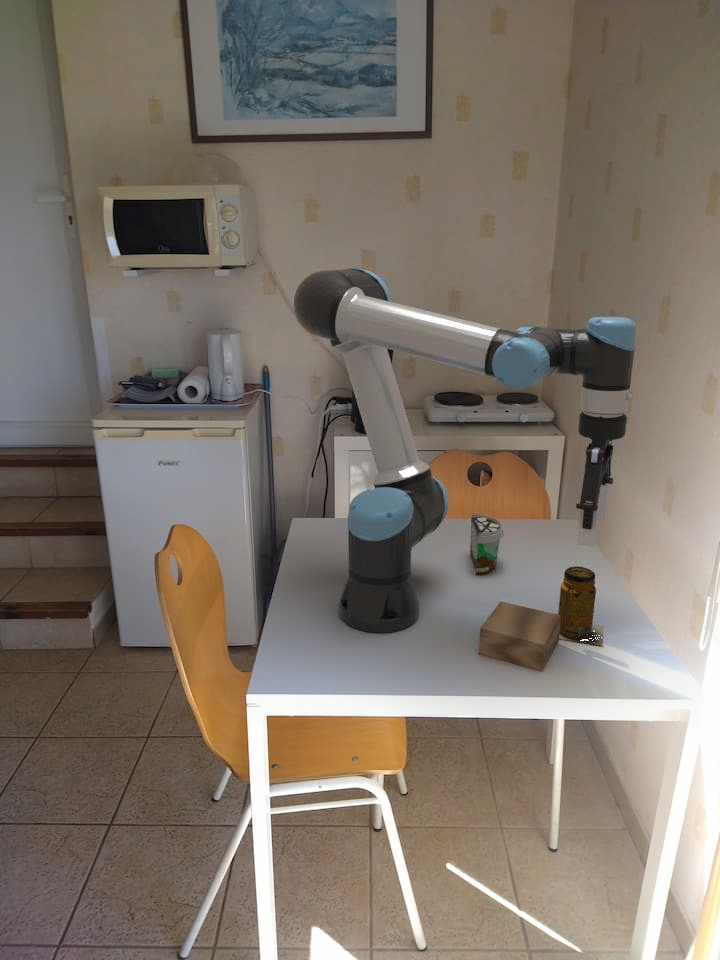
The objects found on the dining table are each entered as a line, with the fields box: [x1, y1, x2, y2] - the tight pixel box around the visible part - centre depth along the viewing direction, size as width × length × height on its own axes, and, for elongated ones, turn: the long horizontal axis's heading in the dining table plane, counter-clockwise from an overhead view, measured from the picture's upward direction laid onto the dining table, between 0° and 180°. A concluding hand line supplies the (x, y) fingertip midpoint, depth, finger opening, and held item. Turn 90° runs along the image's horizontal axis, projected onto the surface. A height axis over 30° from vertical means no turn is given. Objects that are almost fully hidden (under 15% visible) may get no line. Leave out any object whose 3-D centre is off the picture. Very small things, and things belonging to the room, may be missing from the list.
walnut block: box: [478, 600, 561, 672], centre depth 124 cm, size 11×11×5 cm
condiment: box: [557, 565, 605, 647], centre depth 127 cm, size 7×8×12 cm
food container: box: [469, 513, 504, 576], centre depth 155 cm, size 12×6×10 cm, turn 179°
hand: (591, 531), depth 125 cm, fingers open, 13 cm apart
